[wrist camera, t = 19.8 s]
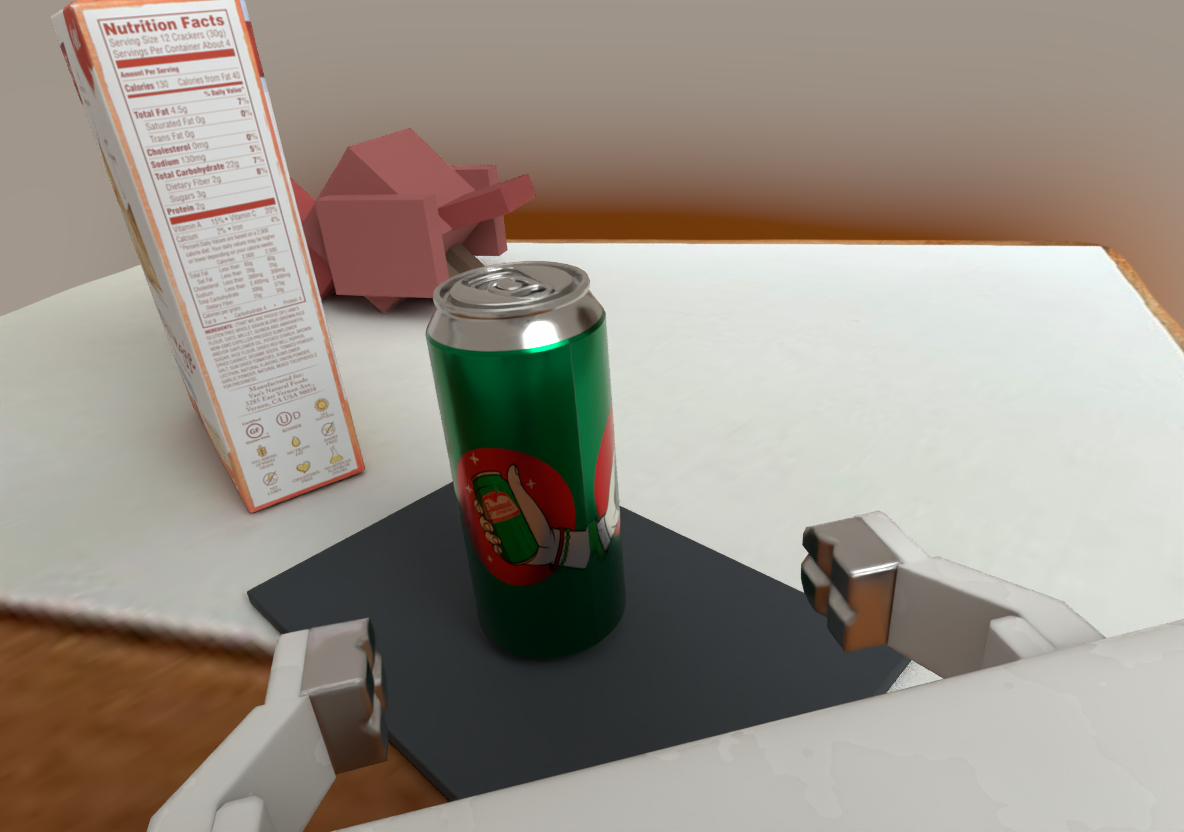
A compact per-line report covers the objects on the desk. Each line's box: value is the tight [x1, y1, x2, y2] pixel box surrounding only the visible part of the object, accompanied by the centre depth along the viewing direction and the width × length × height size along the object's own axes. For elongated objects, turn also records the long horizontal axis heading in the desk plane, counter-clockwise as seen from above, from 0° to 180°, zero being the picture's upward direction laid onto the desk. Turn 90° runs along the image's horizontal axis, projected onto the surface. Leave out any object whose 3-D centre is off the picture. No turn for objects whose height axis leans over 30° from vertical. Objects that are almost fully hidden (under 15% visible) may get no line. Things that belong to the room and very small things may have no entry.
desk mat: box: [247, 482, 911, 802], centre depth 27 cm, size 20×13×1 cm, turn 46°
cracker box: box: [51, 0, 365, 513], centre depth 37 cm, size 14×6×21 cm, turn 34°
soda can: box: [426, 261, 626, 661], centre depth 24 cm, size 5×5×12 cm
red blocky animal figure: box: [290, 128, 536, 314], centre depth 59 cm, size 12×20×25 cm
